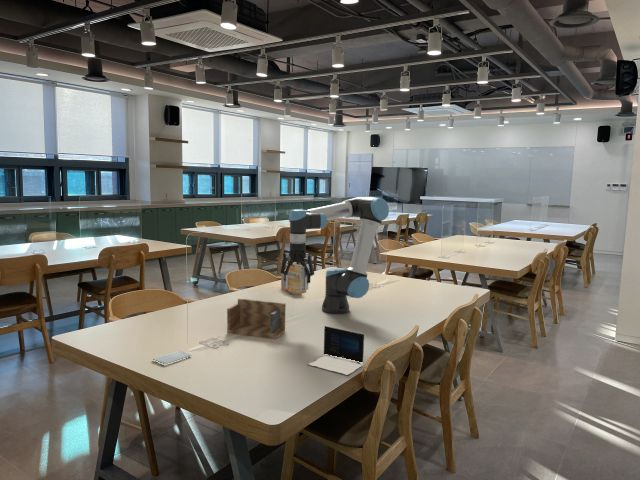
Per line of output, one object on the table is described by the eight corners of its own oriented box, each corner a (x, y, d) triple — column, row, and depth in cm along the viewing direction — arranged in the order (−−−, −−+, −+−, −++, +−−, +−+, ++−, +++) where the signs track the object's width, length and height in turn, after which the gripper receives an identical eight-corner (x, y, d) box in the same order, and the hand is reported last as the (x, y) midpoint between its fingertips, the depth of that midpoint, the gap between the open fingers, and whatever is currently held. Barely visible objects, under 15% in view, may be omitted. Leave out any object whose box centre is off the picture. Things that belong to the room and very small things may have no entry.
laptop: (307, 366, 184) (307, 333, 182) (323, 356, 194) (324, 325, 193) (347, 377, 174) (349, 343, 173) (363, 366, 185) (364, 334, 183)
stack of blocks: (302, 294, 296) (302, 274, 295) (292, 295, 294) (293, 275, 292) (289, 286, 316) (290, 268, 314) (280, 287, 313) (281, 269, 312)
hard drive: (164, 364, 179) (191, 354, 189) (151, 358, 184) (178, 349, 194) (164, 368, 179) (191, 358, 189) (152, 362, 184) (178, 353, 194)
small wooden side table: (285, 331, 224) (285, 303, 222) (275, 339, 212) (275, 309, 211) (238, 325, 231) (239, 298, 229) (227, 332, 219) (227, 304, 217)
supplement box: (287, 291, 228) (287, 264, 226) (293, 289, 232) (294, 263, 230) (300, 294, 223) (300, 266, 221) (306, 292, 227) (307, 265, 225)
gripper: (273, 242, 224) (272, 288, 227) (317, 244, 218) (316, 292, 221) (279, 240, 231) (278, 285, 234) (322, 242, 225) (321, 289, 228)
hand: (297, 288), depth 227 cm, fingers closed on supplement box, 9 cm apart
